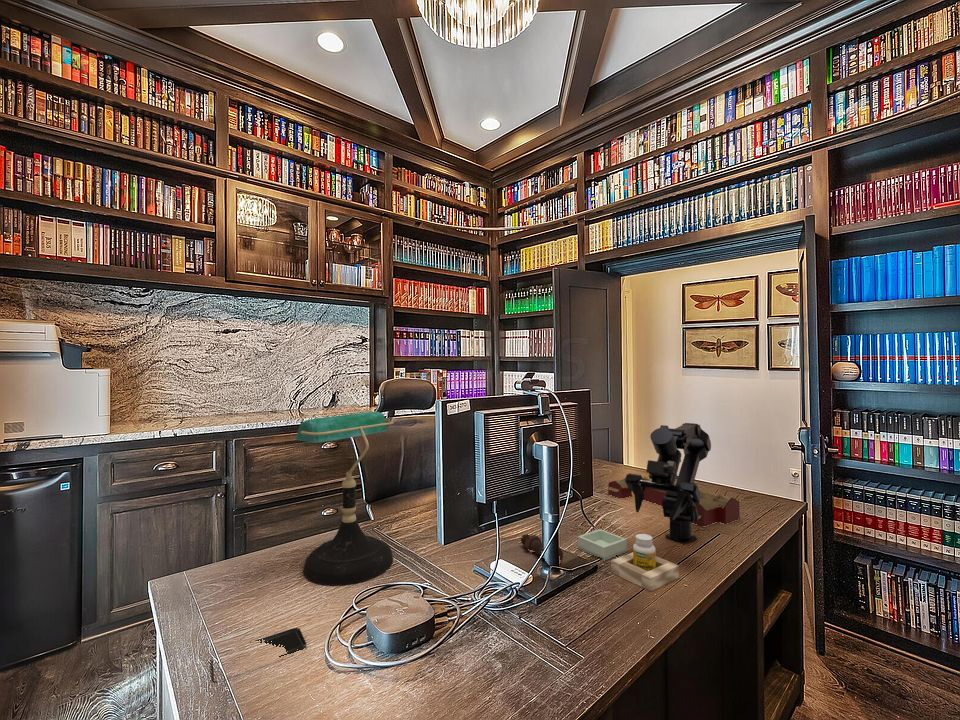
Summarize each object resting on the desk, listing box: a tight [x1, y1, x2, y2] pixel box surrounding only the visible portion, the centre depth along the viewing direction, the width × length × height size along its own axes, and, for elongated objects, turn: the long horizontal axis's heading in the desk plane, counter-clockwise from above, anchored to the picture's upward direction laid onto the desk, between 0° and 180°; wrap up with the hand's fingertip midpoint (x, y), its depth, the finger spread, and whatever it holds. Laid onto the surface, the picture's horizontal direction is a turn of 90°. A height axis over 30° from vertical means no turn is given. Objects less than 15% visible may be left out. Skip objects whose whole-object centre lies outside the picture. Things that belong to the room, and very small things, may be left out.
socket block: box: [610, 551, 680, 592], centre depth 109 cm, size 11×11×3 cm
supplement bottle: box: [632, 533, 657, 571], centre depth 109 cm, size 5×5×10 cm
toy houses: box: [607, 476, 741, 527], centre depth 162 cm, size 45×20×10 cm, turn 31°
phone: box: [250, 627, 307, 657], centre depth 81 cm, size 8×1×15 cm
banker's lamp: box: [295, 411, 394, 586], centre depth 117 cm, size 26×23×40 cm
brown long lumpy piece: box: [520, 534, 564, 561], centre depth 122 cm, size 6×5×15 cm
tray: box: [577, 528, 628, 561], centre depth 124 cm, size 10×10×4 cm
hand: (654, 515), depth 115 cm, fingers open, 9 cm apart
